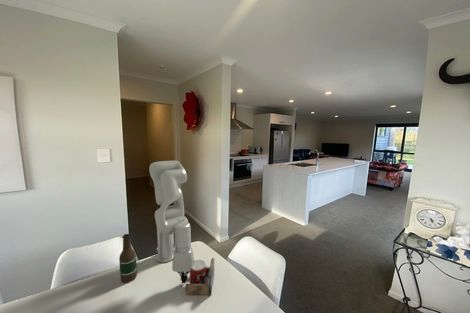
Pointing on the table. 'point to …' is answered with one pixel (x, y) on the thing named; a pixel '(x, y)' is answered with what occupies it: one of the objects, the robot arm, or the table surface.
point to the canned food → (198, 272)
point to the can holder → (202, 288)
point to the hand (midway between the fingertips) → (184, 281)
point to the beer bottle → (127, 261)
